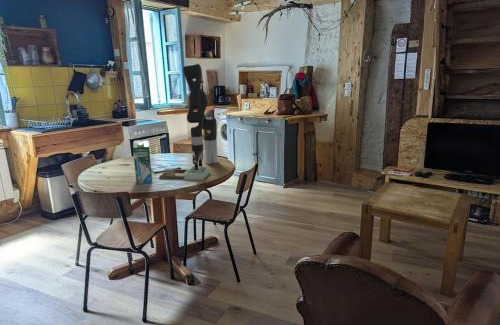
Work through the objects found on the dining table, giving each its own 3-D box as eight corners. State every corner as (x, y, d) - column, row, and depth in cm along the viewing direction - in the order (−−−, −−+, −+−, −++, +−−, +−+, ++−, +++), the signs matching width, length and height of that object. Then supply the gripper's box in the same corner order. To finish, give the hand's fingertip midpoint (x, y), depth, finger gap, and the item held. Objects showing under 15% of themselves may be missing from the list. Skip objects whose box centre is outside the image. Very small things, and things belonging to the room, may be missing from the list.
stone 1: (168, 174, 228) (167, 167, 226) (174, 174, 227) (174, 167, 226) (165, 176, 223) (165, 169, 222) (172, 176, 222) (171, 169, 221)
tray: (169, 172, 233) (168, 169, 233) (192, 173, 231) (191, 169, 230) (159, 179, 218) (159, 175, 218) (184, 180, 216) (183, 176, 215)
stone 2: (196, 173, 227) (196, 167, 226) (203, 173, 227) (203, 167, 226) (194, 175, 223) (194, 168, 222) (201, 175, 222) (201, 168, 221)
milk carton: (136, 185, 208) (132, 143, 202) (137, 181, 217) (133, 141, 211) (152, 183, 210) (148, 142, 204) (152, 179, 219) (148, 140, 213)
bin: (192, 173, 230) (192, 166, 229) (209, 173, 229) (209, 167, 227) (184, 180, 215) (183, 173, 214) (202, 180, 213) (202, 173, 212)
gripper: (194, 141, 227) (196, 165, 231) (187, 145, 214) (189, 171, 218) (206, 141, 226) (207, 165, 230) (199, 145, 213) (201, 171, 217)
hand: (198, 168), depth 224 cm, fingers open, 8 cm apart
